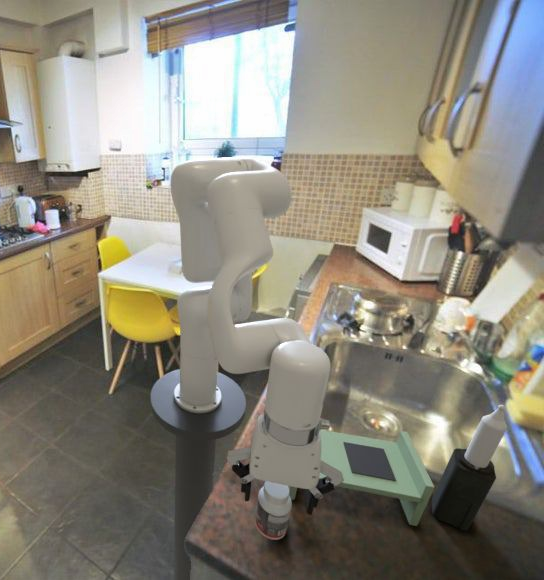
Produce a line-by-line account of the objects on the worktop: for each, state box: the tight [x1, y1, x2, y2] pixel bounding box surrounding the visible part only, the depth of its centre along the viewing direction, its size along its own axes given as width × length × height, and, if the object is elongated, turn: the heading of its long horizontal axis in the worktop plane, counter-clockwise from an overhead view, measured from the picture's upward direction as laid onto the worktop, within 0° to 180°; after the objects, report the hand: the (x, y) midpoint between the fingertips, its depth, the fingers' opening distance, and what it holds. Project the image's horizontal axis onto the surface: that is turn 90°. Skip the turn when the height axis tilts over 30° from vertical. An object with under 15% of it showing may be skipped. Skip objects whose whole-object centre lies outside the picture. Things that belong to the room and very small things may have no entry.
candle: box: [431, 404, 508, 531], centre depth 60 cm, size 5×5×25 cm
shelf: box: [288, 429, 436, 527], centre depth 69 cm, size 12×21×10 cm, turn 75°
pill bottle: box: [254, 481, 293, 541], centre depth 62 cm, size 5×5×10 cm
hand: (276, 500), depth 61 cm, fingers open, 9 cm apart
